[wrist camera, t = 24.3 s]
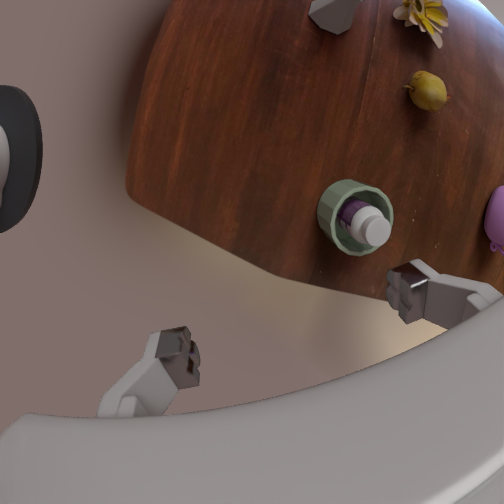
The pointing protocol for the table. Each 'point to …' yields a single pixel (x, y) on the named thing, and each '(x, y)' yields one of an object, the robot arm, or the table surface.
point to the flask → (333, 14)
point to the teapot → (495, 219)
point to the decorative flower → (424, 16)
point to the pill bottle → (363, 222)
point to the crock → (332, 203)
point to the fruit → (427, 91)
